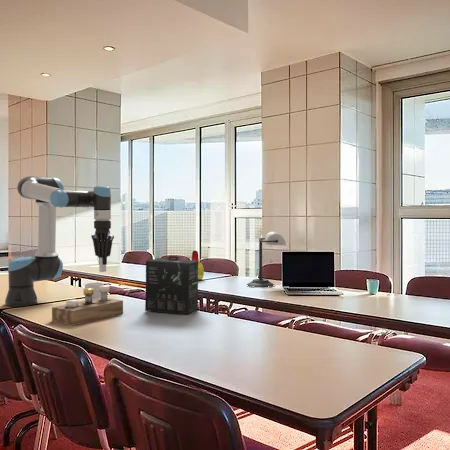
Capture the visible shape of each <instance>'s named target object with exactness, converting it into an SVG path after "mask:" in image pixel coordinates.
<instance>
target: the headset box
mask: <svg viewBox="0 0 450 450" xmlns="http://www.w3.org/2000/svg"><path fill="white" fill-rule="evenodd" d="M198 293H199V279H198V261H192V259H190V260H188V259H179V256H178V255H177V256H175V255H174V256H172V255H169V256H168V258H157V257H156V258H155V259H150V260H146V261H145V299H144V300H145V305H144V306H145V308H144V309H145V310H144V311H145V312H152V313H153V312H154V313H165V314H176V315H183V316H189V315H192V314H193V313H195V312H197V311H198V309H199V306H198V305H199V304H198V303H199V294H198ZM194 311H195V312H194ZM192 312H193V313H192Z"/></svg>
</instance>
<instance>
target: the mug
mask: <svg viewBox="0 0 450 450" xmlns="http://www.w3.org/2000/svg"><path fill="white" fill-rule="evenodd" d="M99 286H104V283H103V282H89V283H84V289H85V288H93V289H94V294H93V295H92V299H96V298H101V292H99Z"/></svg>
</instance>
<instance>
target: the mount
mask: <svg viewBox="0 0 450 450" xmlns="http://www.w3.org/2000/svg"><path fill="white" fill-rule="evenodd" d="M122 314H124V301H123V300H122V299H116V298H115V299H114V298H109V297H108V301H106V302H101V298H96V299H92V305H85V300H82V301H78V306H77V307H76V308H72V309H70V308H68V307H66V303H65V304H60V305H55V306H52V307H51V321H52V322H55V323H60V324H64V323H65V324H66V325H71V326H77V325H81V324H86V323H88V322H89V321H90V322H93V320H94V321H97V319H98V320H101V319H106V318H109V317H113V316H118V315H122ZM65 324H64V325H65Z"/></svg>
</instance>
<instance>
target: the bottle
mask: <svg viewBox="0 0 450 450" xmlns="http://www.w3.org/2000/svg"><path fill="white" fill-rule="evenodd" d="M191 260H192V261H198V280H202V279H203V278H204V274H205V272H204V271H205V270H204V269H205V268H204V265H203V263H202V262H200V259H199V251H198V250H193V251H192V253H191Z"/></svg>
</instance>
